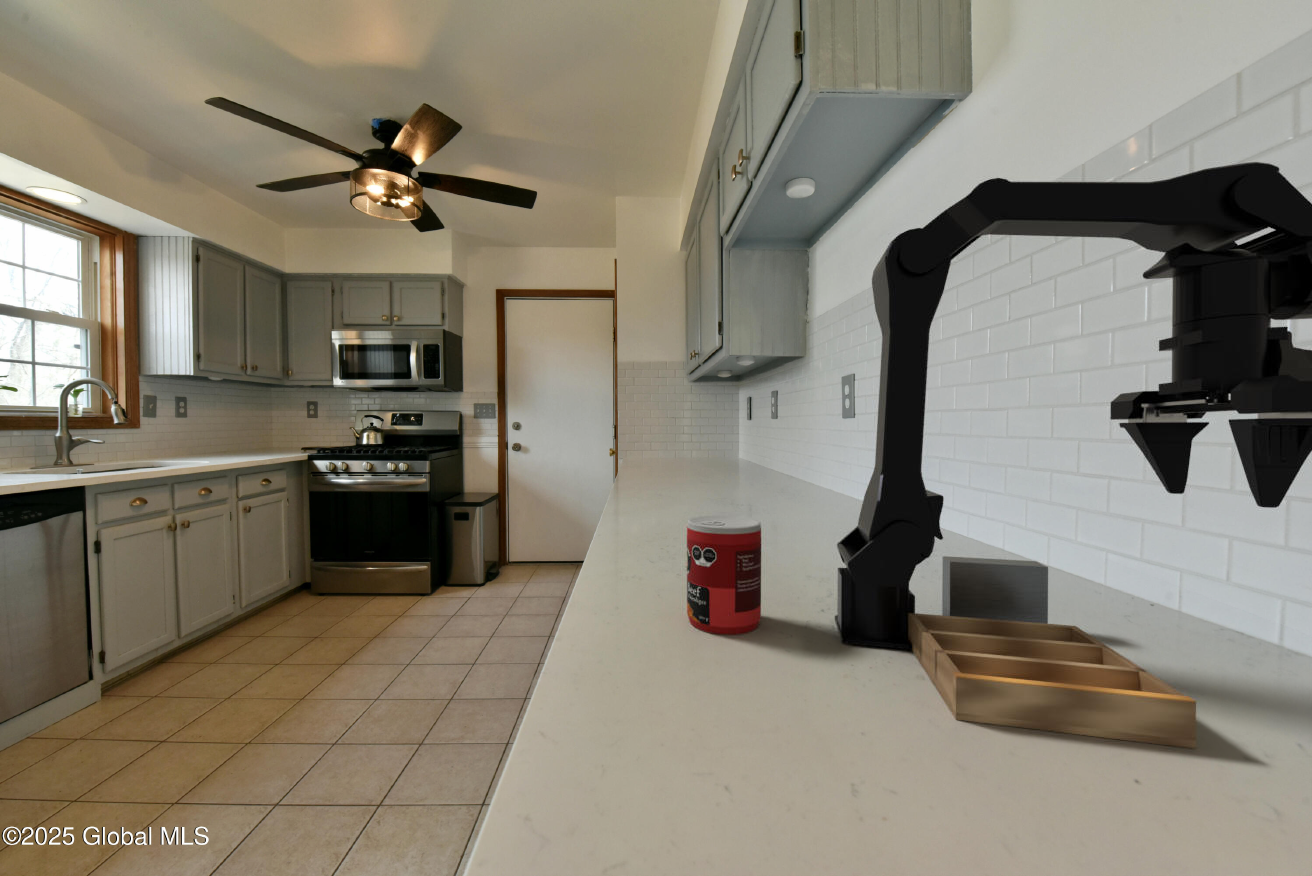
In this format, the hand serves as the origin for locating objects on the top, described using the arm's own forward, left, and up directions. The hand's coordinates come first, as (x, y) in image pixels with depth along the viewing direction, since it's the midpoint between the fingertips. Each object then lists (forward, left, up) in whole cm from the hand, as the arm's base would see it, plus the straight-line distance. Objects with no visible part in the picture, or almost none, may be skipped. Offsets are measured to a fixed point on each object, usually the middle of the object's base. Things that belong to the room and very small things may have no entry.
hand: (1217, 499), depth 44 cm
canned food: (-43, 0, -15) cm, 46 cm away
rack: (-18, -8, -15) cm, 25 cm away
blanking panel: (-15, +5, -15) cm, 22 cm away
